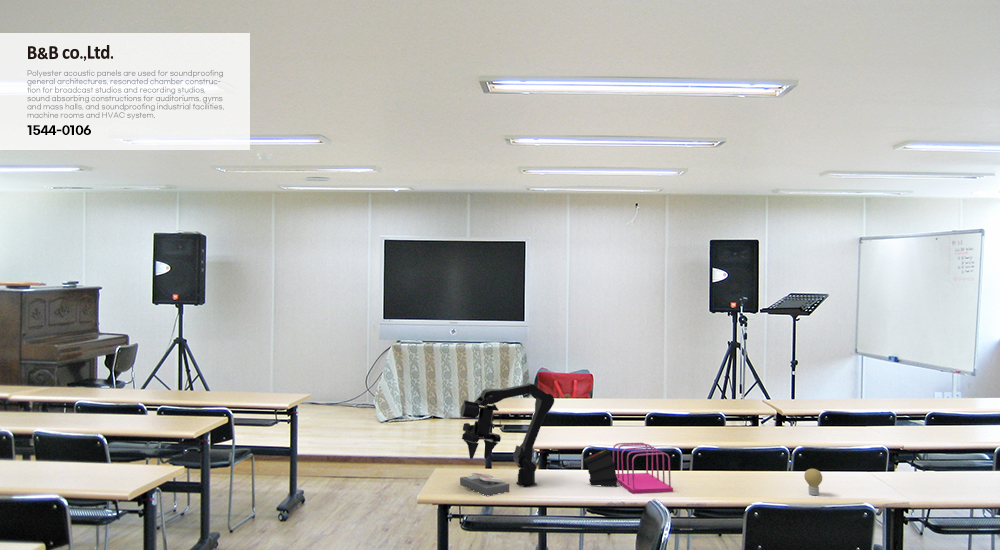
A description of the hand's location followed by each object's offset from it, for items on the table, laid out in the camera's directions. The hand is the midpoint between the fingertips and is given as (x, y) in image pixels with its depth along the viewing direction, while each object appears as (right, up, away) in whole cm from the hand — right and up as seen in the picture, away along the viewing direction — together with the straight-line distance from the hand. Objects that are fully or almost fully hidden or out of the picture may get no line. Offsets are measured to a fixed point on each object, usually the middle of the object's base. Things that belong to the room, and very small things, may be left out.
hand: (478, 458), depth 254 cm
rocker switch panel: (+2, -12, 0) cm, 12 cm away
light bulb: (+133, -12, -8) cm, 134 cm away
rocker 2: (+5, -7, -4) cm, 10 cm away
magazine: (+51, -13, +5) cm, 53 cm away
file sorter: (+68, -13, +6) cm, 69 cm away
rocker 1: (+2, -7, +1) cm, 8 cm away
